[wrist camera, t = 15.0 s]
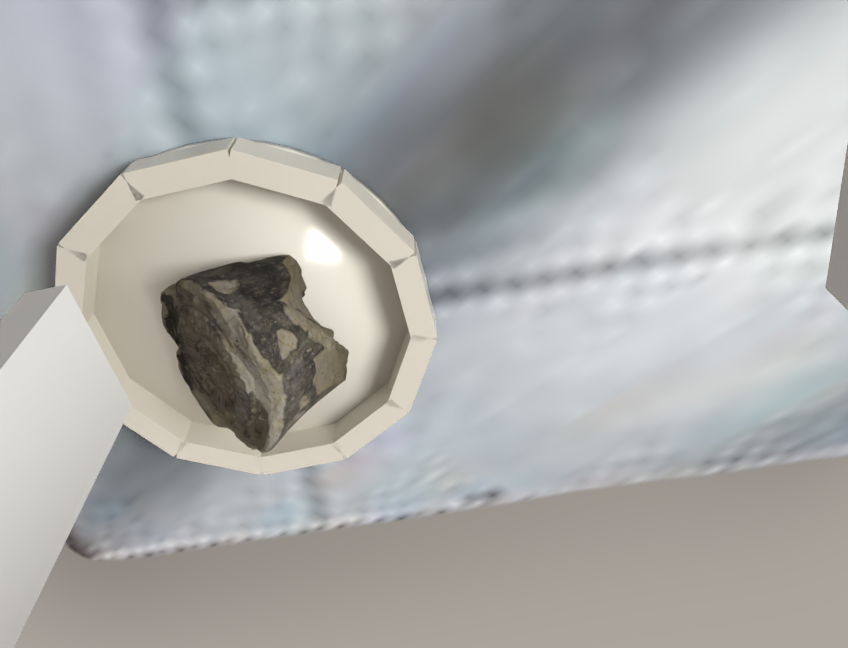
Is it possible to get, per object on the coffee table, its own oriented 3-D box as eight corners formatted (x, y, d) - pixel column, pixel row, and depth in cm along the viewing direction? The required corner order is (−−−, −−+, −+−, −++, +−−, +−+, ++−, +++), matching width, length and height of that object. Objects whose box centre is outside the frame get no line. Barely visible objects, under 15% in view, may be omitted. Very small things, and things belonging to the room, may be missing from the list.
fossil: (114, 293, 40) (130, 344, 31) (252, 207, 42) (301, 234, 33) (221, 428, 45) (259, 505, 36) (338, 346, 47) (401, 400, 38)
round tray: (4, 187, 38) (-23, 207, 36) (381, 98, 36) (380, 113, 34) (163, 466, 49) (151, 496, 46) (459, 409, 47) (462, 437, 45)
